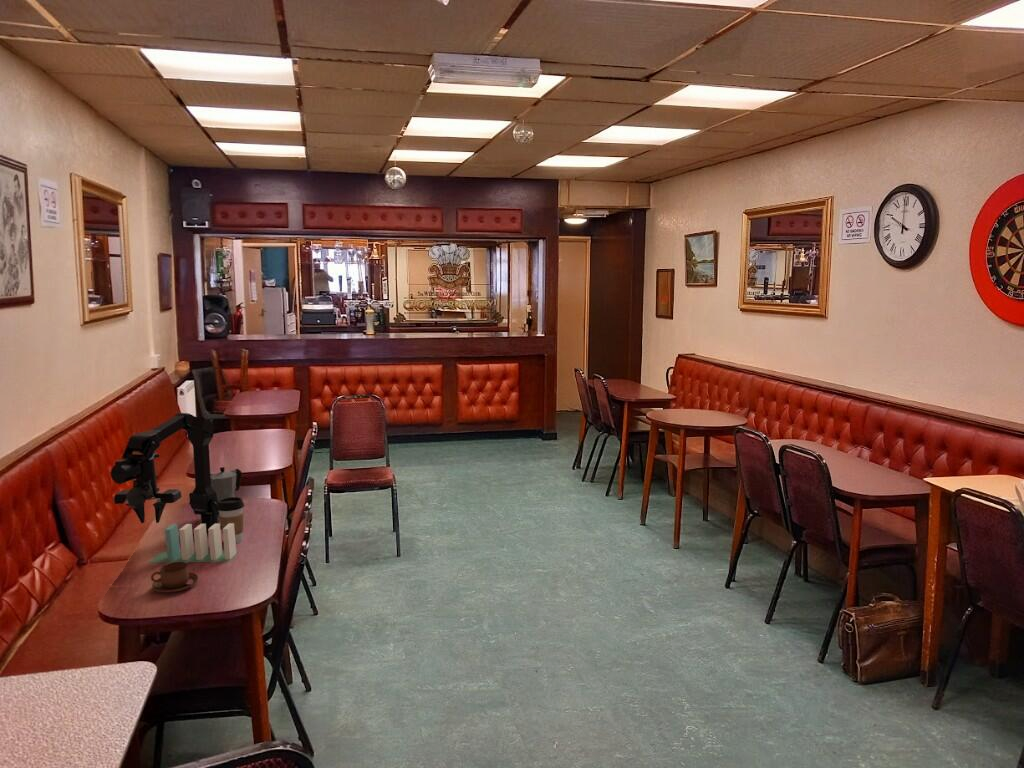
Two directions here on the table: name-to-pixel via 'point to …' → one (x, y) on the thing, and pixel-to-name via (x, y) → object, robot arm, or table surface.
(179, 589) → the cup and saucer
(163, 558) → the baize strip
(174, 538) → the domino
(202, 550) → the domino
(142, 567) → the table surface
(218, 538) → the domino
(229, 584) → the table surface
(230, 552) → the domino
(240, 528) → the coffee cup
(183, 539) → the domino
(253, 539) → the table surface
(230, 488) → the coffeepot
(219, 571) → the table surface
